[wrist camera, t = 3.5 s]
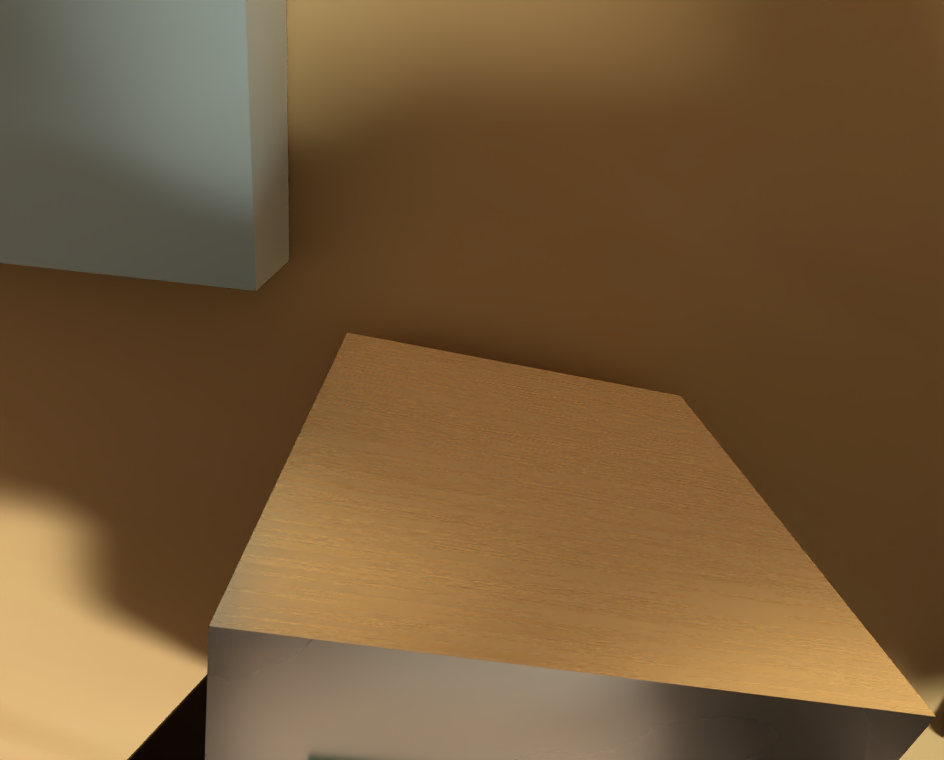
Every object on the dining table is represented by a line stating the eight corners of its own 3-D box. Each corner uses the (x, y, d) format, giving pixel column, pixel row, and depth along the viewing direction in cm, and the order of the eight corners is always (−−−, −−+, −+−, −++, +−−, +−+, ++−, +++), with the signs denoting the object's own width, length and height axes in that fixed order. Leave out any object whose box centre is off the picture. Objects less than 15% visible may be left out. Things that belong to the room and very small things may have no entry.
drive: (680, 395, 9) (948, 730, 4) (527, 758, 12) (573, 1149, 8) (347, 332, 8) (201, 640, 3) (293, 735, 12) (190, 1141, 7)
